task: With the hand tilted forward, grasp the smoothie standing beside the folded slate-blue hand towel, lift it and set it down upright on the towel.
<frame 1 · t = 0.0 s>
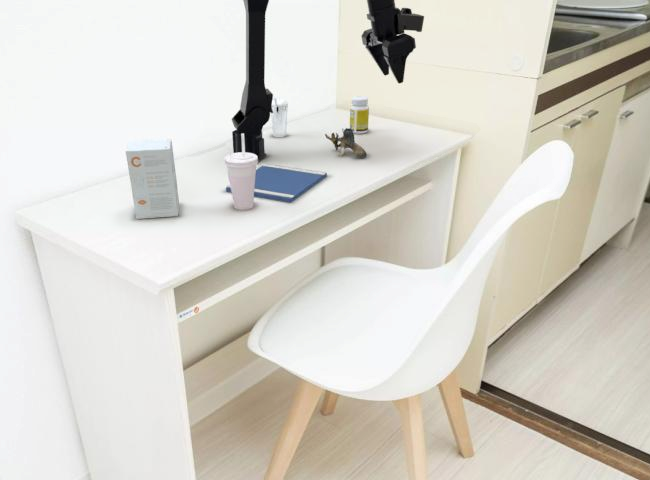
hand: (393, 78, 149), 15 cm above the table, tool pointing down, fingers open, 9 cm apart
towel: (277, 183, 137), on the table
supplement bottle: (358, 132, 169), on the table
milkshake: (279, 136, 167), on the table
small box: (158, 212, 125), on the table
smoothie: (243, 207, 126), on the table
eagle figurine: (347, 155, 152), on the table
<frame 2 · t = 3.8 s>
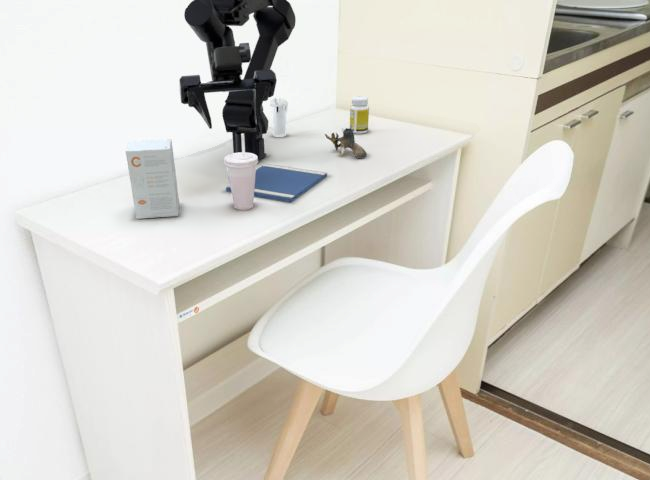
hand: (234, 125, 126), 13 cm above the table, tool tilted 45°, fingers open, 9 cm apart
nothing on the table moved.
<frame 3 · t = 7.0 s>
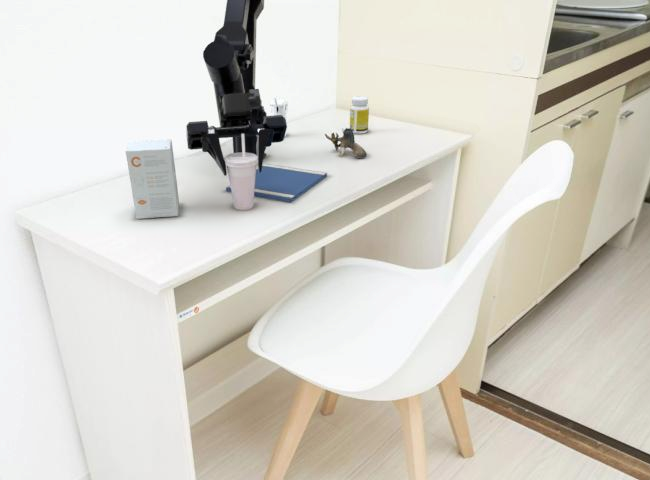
hand: (242, 173, 121), 7 cm above the table, tool tilted 45°, fingers closed on smoothie, 6 cm apart
smoothie: (243, 207, 126), on the table, touching gripper
everything else where it was.
when the fingers open (8 cm above the table, at t = 12.7 s): smoothie stays where it is, resting on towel.
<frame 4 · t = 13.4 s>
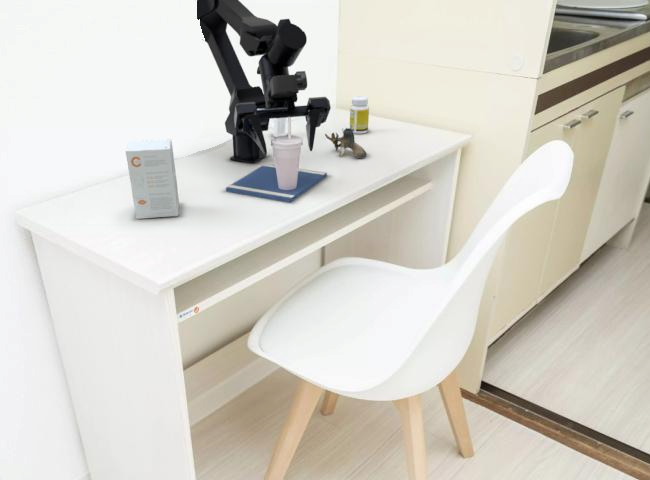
hand: (288, 152, 127), 8 cm above the table, tool tilted 45°, fingers open, 9 cm apart
smoothie: (287, 187, 133), point 1 cm above the table, touching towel
everything else where it was.
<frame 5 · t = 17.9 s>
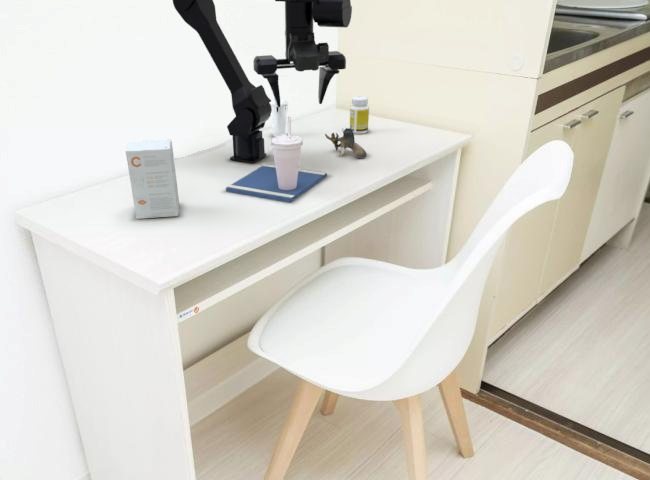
hand: (299, 105, 140), 13 cm above the table, tool pointing down, fingers open, 9 cm apart
nothing on the table moved.
at the end: smoothie inside the target area on the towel (4.9 cm from its centre), point 0.6 cm above the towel's base; smoothie tilted 0°; the gripper is holding nothing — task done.
